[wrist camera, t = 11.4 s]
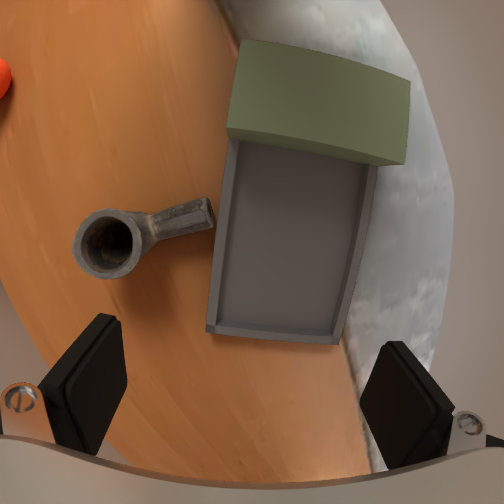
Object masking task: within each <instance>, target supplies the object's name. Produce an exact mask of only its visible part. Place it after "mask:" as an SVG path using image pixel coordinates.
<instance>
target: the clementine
mask: <svg viewBox="0 0 504 504" xmlns="http://www.w3.org/2000/svg"><path fill="white" fill-rule="evenodd" d="M10 82H11V70H10V67H9V66H8V64H7V63H6V62H5V61H3V60H1V59H0V99H1V98H2V97H3V96H4V94H5V93H6V91H7V90H8V88H9V85H10Z"/></svg>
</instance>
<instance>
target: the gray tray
mask: <svg viewBox="0 0 504 504" xmlns="http://www.w3.org/2000/svg"><path fill="white" fill-rule="evenodd" d="M409 108H410V81H408V80H406V79H403V78H401V77H398V76H396V75H393V74H390V73H388V72H385V71H382V70H379V69H377V68H374V67H371V66H368V65H364V64H361V63H358V62H355V61H352V60H348V59H345V58H341V57H337V56H334V55H330V54H326V53H322V52H318V51H313V50H309V49H304V48H299V47H294V46H289V45H283V44H278V43H271V42H265V41H257V40H249V39H241V44H240V49H239V54H238V60H237V65H236V70H235V76H234V81H233V87H232V93H231V98H230V104H229V110H228V116H227V122H226V130H227V133H228V136H229V142H228V149H227V155H226V162H225V169H224V176H223V183H222V190H221V198H220V205H219V213H218V221H217V229H216V237H215V245H214V254H213V262H212V271H211V280H210V290H209V300H208V310H207V320H206V331H205V332H207V333H214V334H222V335H229V336H237V337H246V338H255V339H265V340H275V341H287V342H299V343H314V344H331V345H339V341H340V338H341V335H342V331H343V328H344V324H345V321H346V317H347V314H348V310H349V307H350V303H351V299H352V295H353V291H354V287H355V283H356V279H357V275H358V271H359V267H360V262H361V258H362V253H363V249H364V244H365V239H366V234H367V229H368V224H369V219H370V213H371V207H372V202H373V196H374V189H375V183H376V176H377V169H378V166H386V165H403V164H405V157H406V147H407V137H408V124H409Z"/></svg>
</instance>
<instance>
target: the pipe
mask: <svg viewBox="0 0 504 504" xmlns="http://www.w3.org/2000/svg"><path fill="white" fill-rule="evenodd" d="M214 221H215V218H214V214H213V210H212V207H211V203H210V200H209V198H207V197H205V198H199V199H196V200H192V201H189V202H186V203H183V204H180V205H177V206H174V207H171V208H168V209H165V210H163V211H160V212H158V213H155V214H153V215H149V214H146V213H142V212H129V211H121V210H118V209H113V208H106V209H101V210H98V211H96V212H94V213H92V214H90V215H89V216H88V217H87V218H86V219H85V220H84V221H83V222H82V223H81V225H80V227H79V228H78V230H77V232H76V235H75V237H74V240H73V247H72V252H73V255H74V259H75V260H76V262H77V264H78V265H79V266H80V267H81V268H82V270H83V271H85V272H86V273H88V274H89V275H91V276H94V277H96V278H100V279H117V278H120V277H123V276H125V275H127V274H128V273H130V272H131V271H132V270H133V269H134V267H135V266H136V265H137V263H138V261H139V260H140V259H141V258H142V257H143V256H144V255H145V254H146V253H147V252H148V251H149V250H150V249H151V248H152V247H153V246H154V245H155V243H156V242H157V241H160V240H164V239H168V238H172V237H176V236H180V235H184V234H189V233H193V232H197V231H202V230H207V229H211V228H212V227H214V224H215V222H214Z"/></svg>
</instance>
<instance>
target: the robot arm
mask: <svg viewBox="0 0 504 504" xmlns="http://www.w3.org/2000/svg"><path fill="white" fill-rule="evenodd" d="M126 388H127V374H126V366H125V358H124V349H123V340H122V329H121V322H120V321H118V320H117V319H116V317H115V316H113V315H108V314H103V313H99V314H98V315H97V316H96V317H95V318H94V320H93V321H92V322H91V323H90V324H89V325H88V326H87V328H86V329H85V330H84V331H83V332H82V333H81V334H80V336H79V337H78V338H77V339H76V340H75V341H74V342H73V344H72V345H71V346H70V347H69V348H68V349H67V351H66V352H65V353H64V354H63V355H62V357H61V358H60V359H59V360H58V361H57V363H56V364H55V365H54V366H53V368H52V369H51V370H50V371H49V373H48V374H47V375H46V376H45V377H44V379H43V380H42V381H41V383H40V384H39V385H38V386H37V387H36V386H34V385H32V384H30V383H26V382H20V383H15V384H12V385H10V386H8V387H7V388H6V389H5V390H4V391H3V392H2V394H1V397H0V504H504V440H502V439H499V438H496V437H493V436H490V435H487V434H486V425H485V423H484V421H483V420H482V419H481V417H479V416H478V415H477V414H475V413H473V412H469V411H460V412H458V413H457V414H455V416H453V415H452V414H451V413H452V412H453V410H454V409H455V406H454V405H453V404H452V402H451V401H450V400H449V398H448V397H447V396H446V394H445V393H444V392H443V391H442V389H441V388H440V387H439V385H438V384H437V383H436V382H435V380H434V379H433V378H432V377H431V375H430V374H429V373H428V372H427V370H426V369H425V368H424V367H423V365H422V364H421V363H420V362H419V361H418V359H417V358H416V357H415V356H414V355H413V353H412V352H411V351H410V350H409V349H408V347H407V346H406V345H405V344H404V343H403V342H402V341H388V342H386V344H385V345H383V346H382V347H381V349H380V352H379V354H378V357H377V360H376V362H375V365H374V367H373V370H372V372H371V375H370V377H369V379H368V382H367V384H366V386H365V389H364V391H363V393H362V396H361V398H360V407H361V409H362V412H363V414H364V416H365V418H366V421H367V423H368V425H369V427H370V430H371V432H372V434H373V436H374V439H375V441H376V443H377V445H378V448H379V450H380V452H381V455H382V457H383V459H384V462H385V464H386V466H387V468H388V469H389V470H388V471H383V472H378V473H373V474H367V475H361V476H355V477H348V478H340V479H331V480H321V481H309V482H289V483H250V482H230V481H217V480H207V479H198V478H191V477H183V476H177V475H171V474H165V473H160V472H155V471H150V470H145V469H141V468H137V467H132V466H128V465H124V464H120V463H116V462H112V461H109V460H105V459H102V458H98V457H95V456H96V455H97V453H98V451H99V448H100V446H101V444H102V441H103V439H104V437H105V434H106V432H107V430H108V428H109V425H110V423H111V421H112V419H113V416H114V414H115V412H116V410H117V407H118V405H119V403H120V401H121V399H122V397H123V394H124V392H125V390H126ZM92 455H93V456H92Z"/></svg>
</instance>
